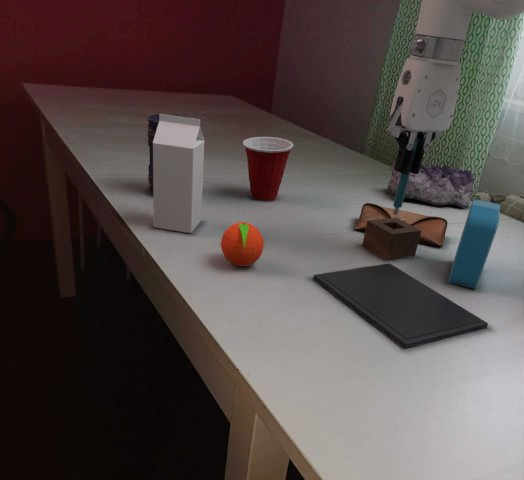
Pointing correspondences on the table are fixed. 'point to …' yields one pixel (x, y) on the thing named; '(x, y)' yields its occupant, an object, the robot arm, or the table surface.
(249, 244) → the clementine
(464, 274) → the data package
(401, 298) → the tablet
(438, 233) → the sunglasses case
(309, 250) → the table surface
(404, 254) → the pen stand
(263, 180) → the plastic cup
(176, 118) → the milk carton
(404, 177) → the stylus
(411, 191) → the geode
